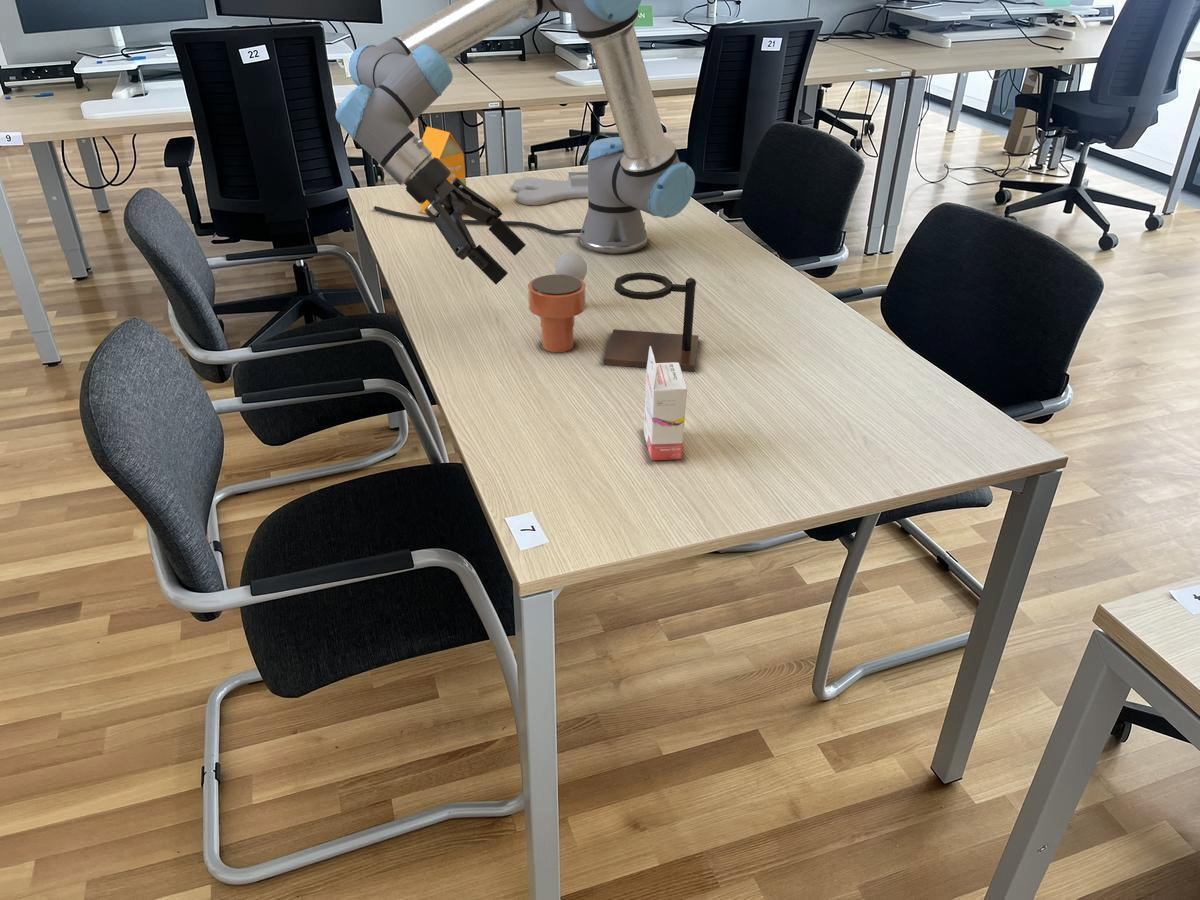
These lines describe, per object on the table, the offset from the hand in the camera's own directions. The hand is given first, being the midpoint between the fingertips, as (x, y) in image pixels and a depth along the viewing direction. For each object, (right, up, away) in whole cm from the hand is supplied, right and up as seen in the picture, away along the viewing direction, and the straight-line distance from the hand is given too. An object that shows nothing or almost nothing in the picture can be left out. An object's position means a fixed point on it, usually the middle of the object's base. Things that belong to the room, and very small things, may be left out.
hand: (511, 264), depth 158 cm
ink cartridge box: (+25, -31, -21) cm, 45 cm away
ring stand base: (+24, -15, +5) cm, 29 cm away
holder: (+10, +36, +84) cm, 92 cm away
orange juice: (-23, +27, +69) cm, 78 cm away
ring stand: (+25, -14, +4) cm, 28 cm away
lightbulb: (+10, -4, +22) cm, 24 cm away
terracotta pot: (+8, -13, +7) cm, 17 cm away
